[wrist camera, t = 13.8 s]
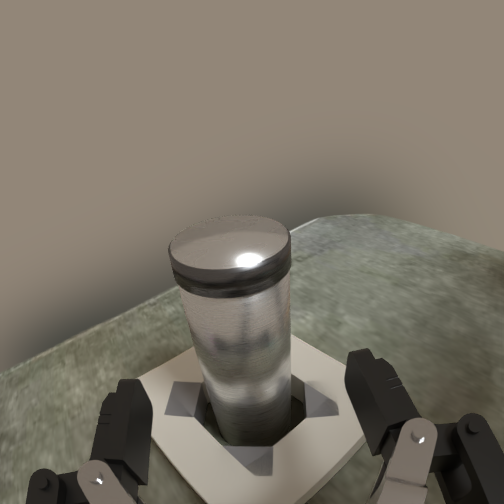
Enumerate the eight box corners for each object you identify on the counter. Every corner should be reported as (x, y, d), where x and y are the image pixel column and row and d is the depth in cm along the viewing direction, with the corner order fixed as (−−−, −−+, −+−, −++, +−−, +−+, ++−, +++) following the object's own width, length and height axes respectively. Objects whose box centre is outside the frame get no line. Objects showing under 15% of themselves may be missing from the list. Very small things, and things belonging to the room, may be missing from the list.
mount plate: (255, 332, 29) (253, 310, 27) (388, 413, 19) (396, 393, 18) (130, 407, 21) (118, 387, 20) (250, 546, 12) (246, 540, 10)
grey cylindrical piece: (257, 382, 23) (236, 207, 17) (307, 419, 20) (316, 232, 13) (202, 419, 20) (147, 241, 14) (251, 466, 17) (214, 285, 10)
